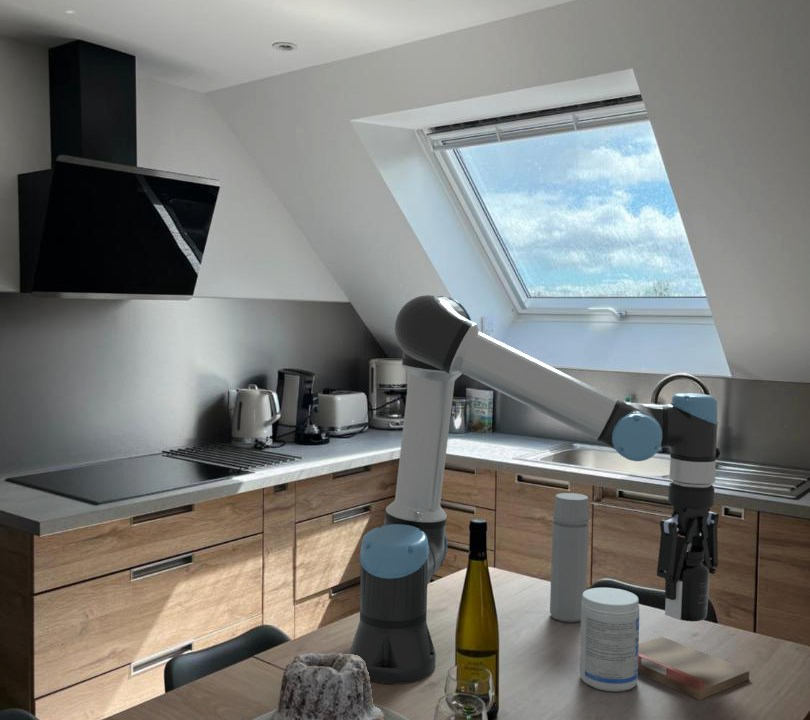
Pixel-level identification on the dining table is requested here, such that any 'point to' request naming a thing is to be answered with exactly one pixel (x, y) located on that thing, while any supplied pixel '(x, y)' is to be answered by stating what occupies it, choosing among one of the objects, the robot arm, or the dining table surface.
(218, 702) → the dining table surface
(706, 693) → the beige hardcover book
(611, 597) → the supplement tub
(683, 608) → the supplement bottle
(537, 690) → the dining table surface
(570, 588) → the water bottle
